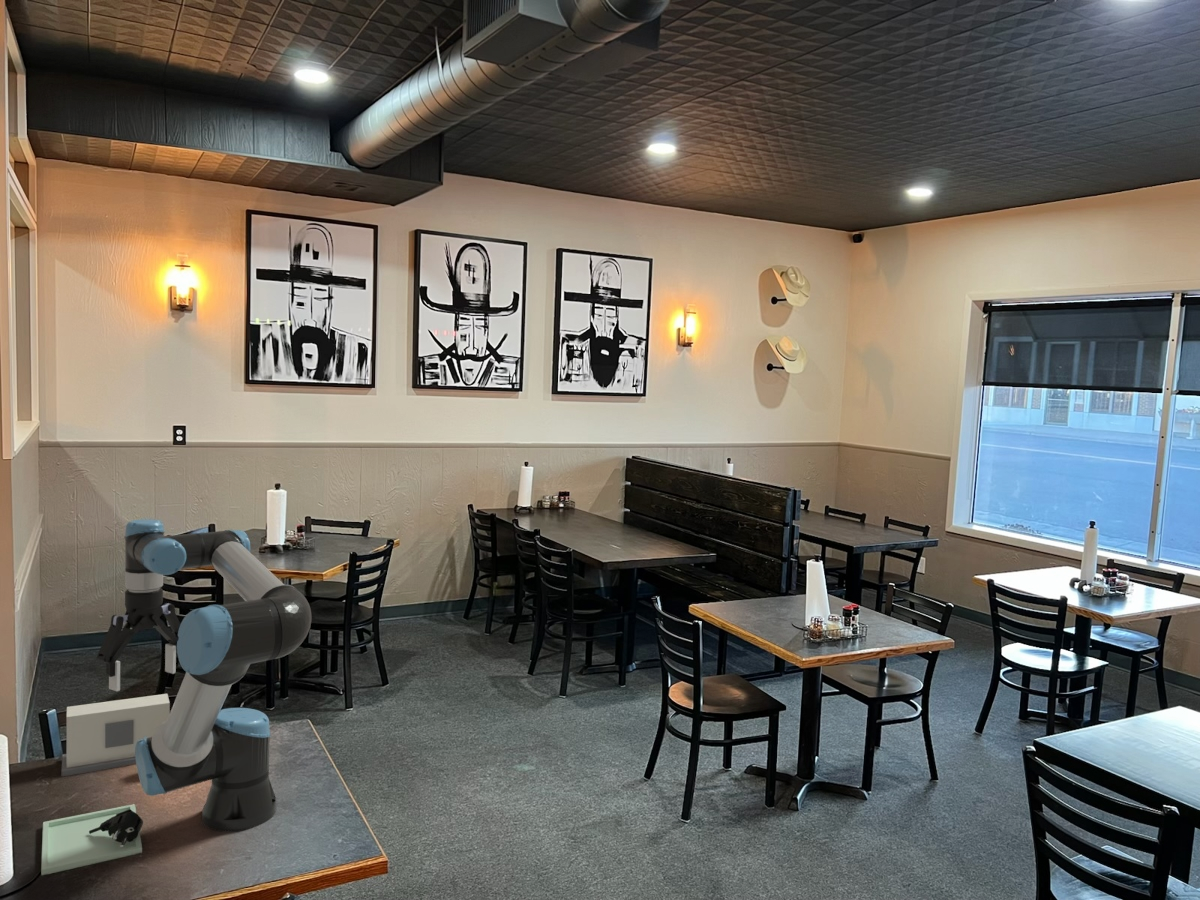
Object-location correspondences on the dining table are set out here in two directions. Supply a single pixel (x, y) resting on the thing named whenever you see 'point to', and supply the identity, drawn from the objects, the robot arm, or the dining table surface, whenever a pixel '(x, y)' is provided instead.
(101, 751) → the box
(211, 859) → the dining table surface
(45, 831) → the tray
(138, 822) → the power plug
